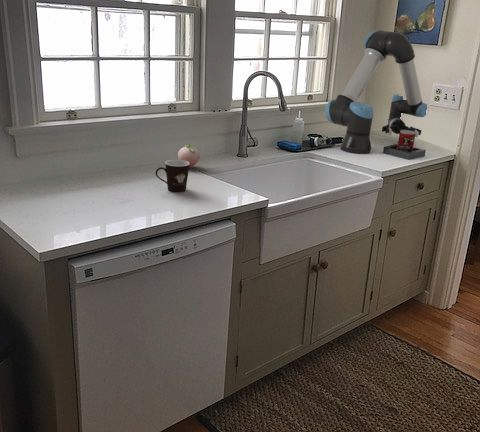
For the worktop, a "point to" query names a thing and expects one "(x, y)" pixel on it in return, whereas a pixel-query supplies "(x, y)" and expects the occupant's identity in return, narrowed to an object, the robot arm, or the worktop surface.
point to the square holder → (404, 152)
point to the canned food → (406, 140)
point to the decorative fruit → (189, 155)
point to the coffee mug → (176, 175)
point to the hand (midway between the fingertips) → (404, 133)
